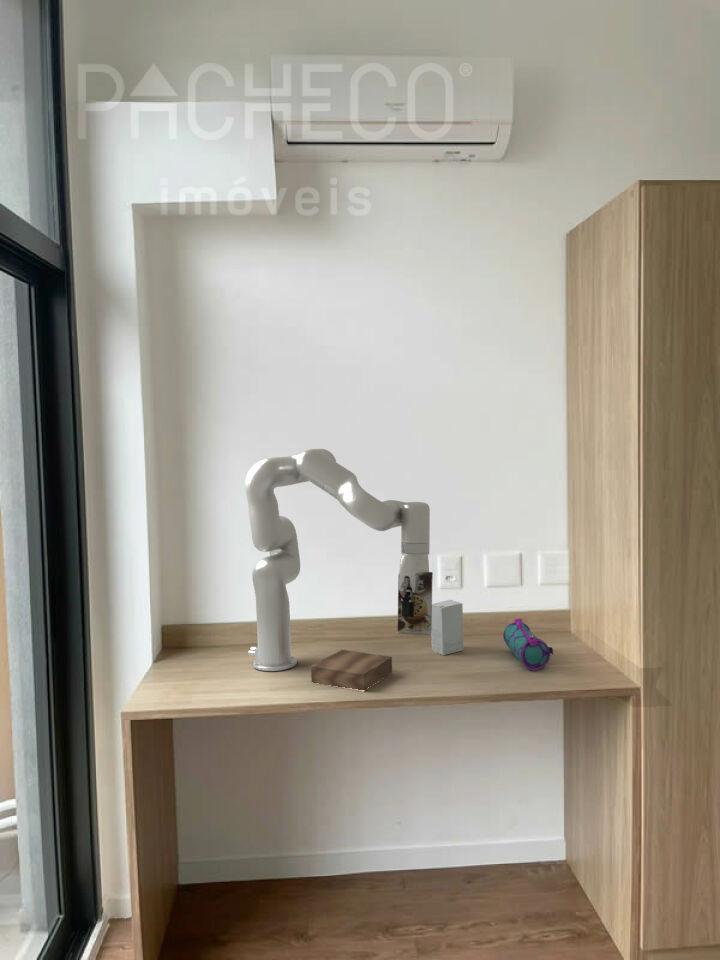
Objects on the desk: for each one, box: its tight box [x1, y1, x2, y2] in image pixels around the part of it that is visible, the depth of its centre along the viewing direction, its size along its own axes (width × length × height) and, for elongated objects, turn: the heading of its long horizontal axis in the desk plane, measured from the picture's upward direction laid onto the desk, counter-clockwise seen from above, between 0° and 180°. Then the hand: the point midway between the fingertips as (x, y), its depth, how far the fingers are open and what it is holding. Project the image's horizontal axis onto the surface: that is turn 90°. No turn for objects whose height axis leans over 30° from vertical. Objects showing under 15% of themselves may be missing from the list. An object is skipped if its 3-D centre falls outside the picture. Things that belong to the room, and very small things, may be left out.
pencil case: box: [502, 618, 554, 672], centre depth 203 cm, size 21×9×10 cm, turn 3°
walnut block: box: [310, 649, 393, 691], centre depth 191 cm, size 16×16×5 cm
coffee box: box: [397, 571, 434, 637], centre depth 189 cm, size 9×6×16 cm
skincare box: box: [430, 599, 464, 656], centre depth 213 cm, size 8×6×15 cm
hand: (415, 612), depth 190 cm, fingers closed on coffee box, 8 cm apart
